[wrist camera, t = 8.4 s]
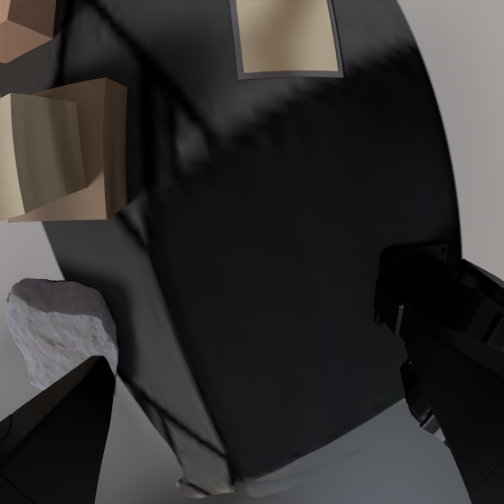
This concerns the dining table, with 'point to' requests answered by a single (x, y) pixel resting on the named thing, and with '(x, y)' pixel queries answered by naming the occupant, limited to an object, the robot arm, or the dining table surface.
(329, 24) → the tile
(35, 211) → the walnut base block
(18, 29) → the terracotta block
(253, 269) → the dining table surface
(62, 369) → the stone block
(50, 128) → the oak block
